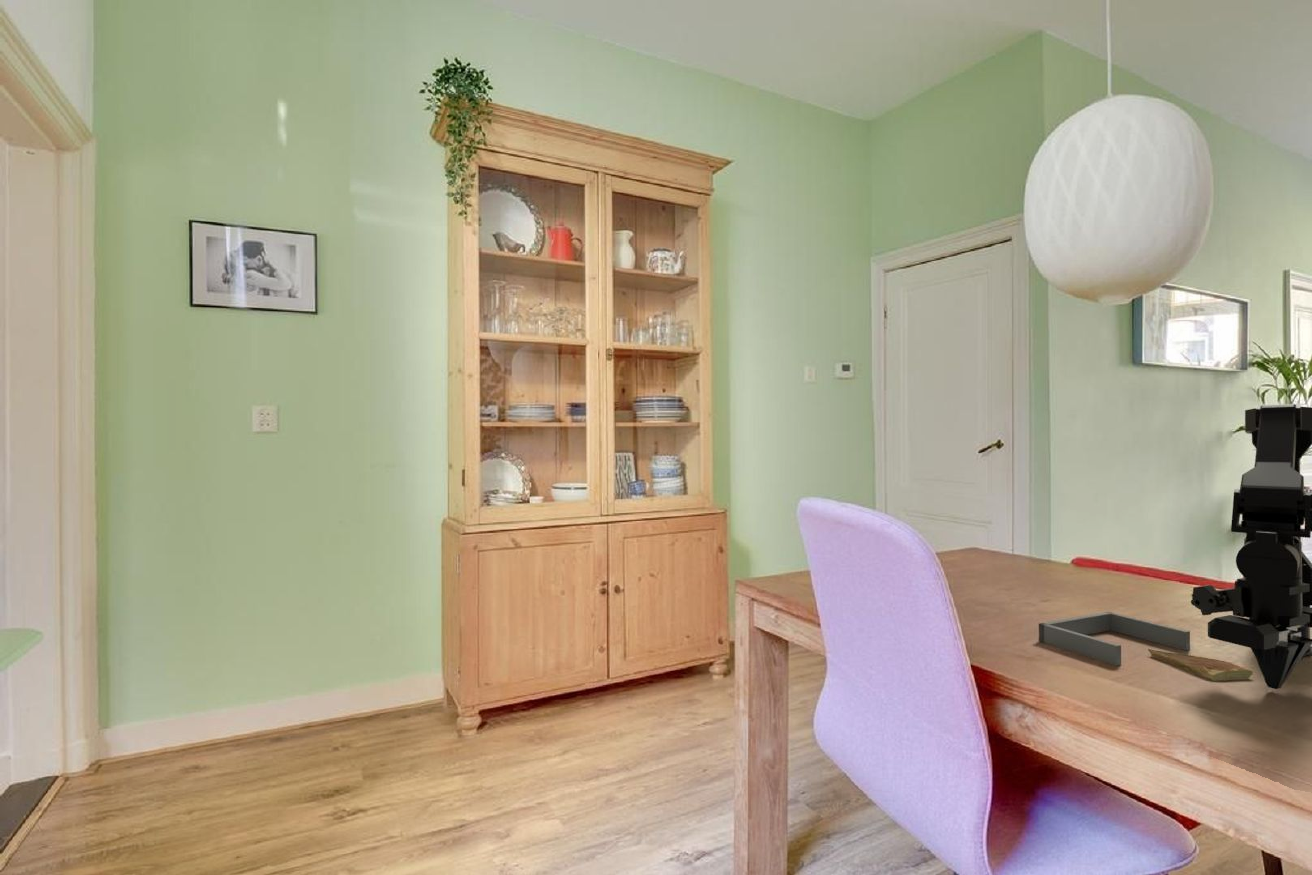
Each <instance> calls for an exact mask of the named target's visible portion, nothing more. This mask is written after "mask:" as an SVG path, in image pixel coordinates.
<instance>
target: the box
mask: <svg viewBox="0 0 1312 875" xmlns="http://www.w3.org/2000/svg"><path fill="white" fill-rule="evenodd" d="M1109 631H1112V632H1116V633H1120V634H1123V635H1128V636H1130V637H1134V638H1139V639H1142V640H1146V641H1149V642H1154V643H1157V644H1161V645H1164V646H1167V647H1171V648H1175V649H1180V650H1183V651H1190V650H1191V631H1190V630H1186V629H1181V628H1178V627H1174V626H1169V625H1164V624H1161V623H1157V622H1152V621H1148V620H1145V619H1140V618H1136V617H1132V616H1129V615H1124V614H1119V613H1115V612H1111V611H1106V612H1105V611H1104V612H1100V613H1099V612H1098V613H1093V614H1087V615H1081V616H1074V617H1068V618H1064V619H1059V620H1058V619H1056V620H1052V621H1051V620H1050V621H1046V622H1041V623H1040V622H1039V623H1038V641H1039V642H1041V643H1044V644H1047V645H1050V646H1053V647H1057V648H1061V649H1063V650H1067V651H1070V652H1072V653H1075V654H1079V655H1081V656H1085V657H1088V658H1092V659H1094V660H1098V661H1101V662H1105V663H1107V664H1110V665H1114V666H1121V665H1122V645H1121V644H1118V643H1115V642H1113V641H1109V640H1104V639H1100V638H1097V637H1093V636H1090V635H1093V634H1098V633H1104V632H1109Z"/></svg>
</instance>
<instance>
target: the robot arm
mask: <svg viewBox="0 0 1312 875" xmlns="http://www.w3.org/2000/svg"><path fill="white" fill-rule="evenodd" d="M1244 432H1245V433H1246V434H1249V435H1250V434H1251V444H1252V445H1253V447H1254V448H1255V449H1256V450H1255V459H1254V466H1253V468H1251V469H1249V470H1247V471H1246V472H1245V473H1243V474H1242V476H1241V480H1240V485H1239V486H1240V487H1239V488H1238V489H1235V488H1234V490H1233V499H1232V512H1231V524H1230V525H1231V526H1230V527H1231V528H1230V531H1231V532H1232V533H1240V534H1241V533H1242V534H1245V535H1246V536H1245V537H1244V538H1243V545H1242V547H1241V548H1240V549H1239V550H1238V551H1237V554H1236V557H1235V564H1236V568H1237V569H1238V572H1239V573H1240V574H1241V575H1242V576H1243V577H1239V578H1237V579H1235V581H1234V588H1224V589H1216V588H1215V587H1214V586H1213V585H1211V584H1207V585H1200V586H1194V587H1192V593H1191V600H1190V604H1191V605H1192V606H1194V607H1195V608H1196V609H1198V610H1199V611H1200V612H1201V615H1202V616H1210V615H1212V614H1217V613H1225V612H1232V615H1231V614H1228V615H1223V616H1218V617H1215V618H1213V619H1211V620H1210V621H1208V622H1207V637H1208V638H1209V639H1213V640H1217V641H1221V642H1226V643H1230V644H1234V645H1238V646H1241V647H1244V648H1245V647H1246V648H1250V649H1251V652H1252V653H1253V655H1254V657H1255V659H1256V661H1257V664H1258V667H1259V670H1260V672H1261V675H1262V676H1263V679H1264V681H1265V684H1266V687H1268V689H1273V690H1279V689H1281V688H1282V687H1283V686H1284V684H1285V682H1286V681H1287V679H1288V678H1289V676H1291V673H1292V672H1293V671H1294V669H1295V668H1296V667H1297V665H1298V663H1299V662H1300V660H1301V659H1302V657H1306V656H1309V655H1312V638H1311V628H1312V607H1311V606H1312V562H1311V561H1310V560H1309V558H1308V557H1307V556H1306V554H1305V552H1303V549H1302V547H1303V543H1302V538H1307V539H1310V538H1311V537H1312V535H1311V534H1312V533H1311V532H1312V492H1311V491H1305V482H1304V480H1305V479H1304V477H1305V476H1303V474H1301V459H1302V458H1303V456H1304V455H1305V453H1307V451H1308V450H1309V449H1310V448H1311V446H1312V407H1309V403H1304V404H1303V403H1298V404H1296V403H1282V404H1281V403H1279V404H1277V403H1276V404H1273V403H1272V404H1261V405H1256V407H1255V408H1249V409H1245V410H1244ZM1240 518H1241V522H1240ZM1240 524H1241V525H1240ZM1303 525H1304V529H1302V526H1303Z"/></svg>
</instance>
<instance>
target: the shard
mask: <svg viewBox="0 0 1312 875" xmlns="http://www.w3.org/2000/svg"><path fill="white" fill-rule="evenodd" d="M1147 651H1148V652H1149V653H1150V657H1151V658H1154V659H1157V660H1159V661H1162V662H1166V663H1168V664H1171V665H1173V666H1176V667H1179V668H1181V669H1184V670H1186V671H1189V672H1192V673H1194V674H1196V675H1198V676H1201V677H1202V678H1205V679H1207V680H1210V681H1213V682H1217V681H1228V680H1249V679H1250V678H1251V677H1252V676H1253V673H1254V672H1253V670H1251V669H1249V668H1246V667H1243V666H1240V665H1238V664H1235V663H1232V662H1228V661H1225V660H1218V659H1213V658H1207V657H1203V656H1196V655H1189V654H1184V653H1183V654H1181V653H1174V652H1167V651H1161V650H1153V649H1149V648H1147Z"/></svg>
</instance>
